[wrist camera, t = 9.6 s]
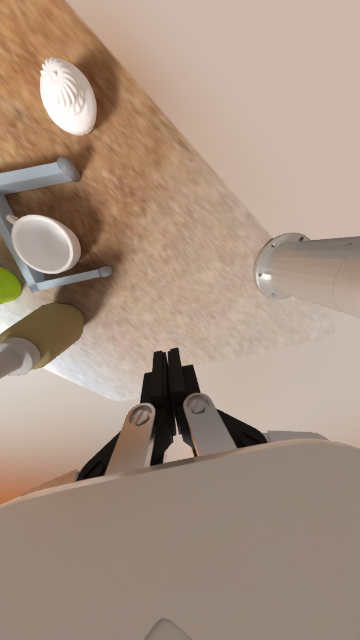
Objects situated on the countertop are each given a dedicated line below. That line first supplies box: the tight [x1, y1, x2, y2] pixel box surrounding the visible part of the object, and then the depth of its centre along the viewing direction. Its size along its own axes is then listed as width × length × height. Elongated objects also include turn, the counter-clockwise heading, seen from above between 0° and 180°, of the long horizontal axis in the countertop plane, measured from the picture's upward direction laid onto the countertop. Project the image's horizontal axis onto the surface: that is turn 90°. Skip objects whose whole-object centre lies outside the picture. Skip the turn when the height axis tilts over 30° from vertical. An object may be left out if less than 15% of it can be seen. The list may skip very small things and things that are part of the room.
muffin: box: [40, 57, 97, 136], centre depth 21 cm, size 6×6×7 cm
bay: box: [0, 157, 113, 292], centre depth 27 cm, size 13×16×4 cm
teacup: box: [6, 215, 81, 274], centre depth 27 cm, size 10×8×5 cm
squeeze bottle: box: [0, 303, 84, 379], centre depth 25 cm, size 8×8×18 cm
